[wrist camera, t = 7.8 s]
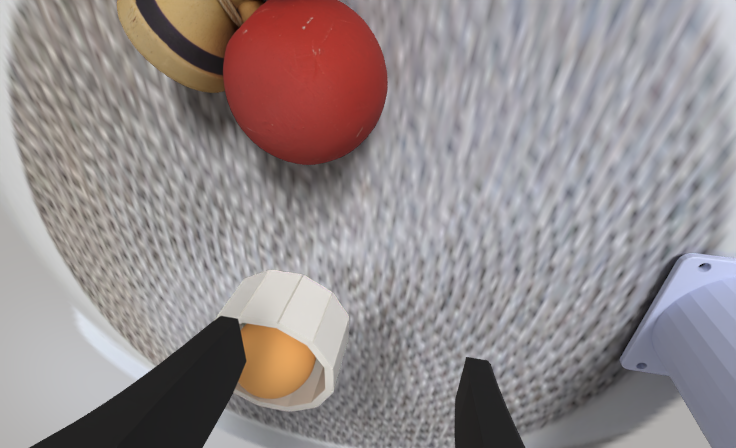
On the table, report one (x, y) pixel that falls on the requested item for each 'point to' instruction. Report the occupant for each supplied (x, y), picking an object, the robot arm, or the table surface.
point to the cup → (295, 329)
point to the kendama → (271, 67)
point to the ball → (274, 362)
